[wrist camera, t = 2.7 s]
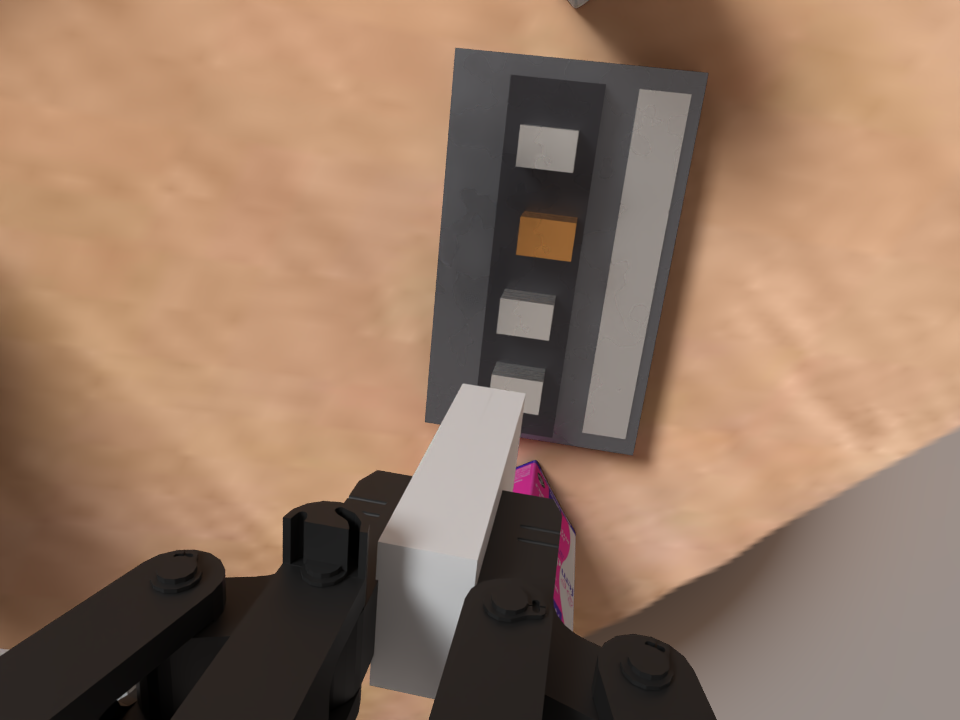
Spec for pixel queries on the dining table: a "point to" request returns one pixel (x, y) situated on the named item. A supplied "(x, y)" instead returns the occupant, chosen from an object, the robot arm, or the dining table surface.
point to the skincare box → (577, 3)
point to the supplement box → (535, 484)
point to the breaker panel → (480, 223)
